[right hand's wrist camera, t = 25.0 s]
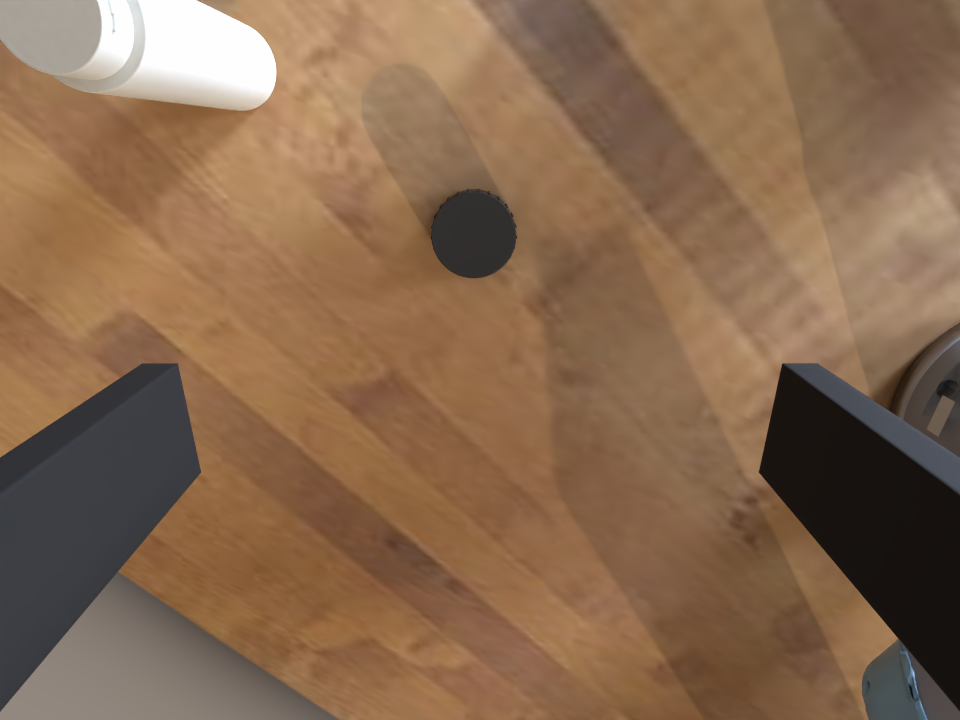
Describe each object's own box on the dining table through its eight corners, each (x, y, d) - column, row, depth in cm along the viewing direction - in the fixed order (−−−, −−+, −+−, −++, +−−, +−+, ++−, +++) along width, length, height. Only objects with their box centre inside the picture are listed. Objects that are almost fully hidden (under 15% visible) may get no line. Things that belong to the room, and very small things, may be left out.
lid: (436, 183, 35) (434, 185, 34) (520, 193, 36) (523, 196, 34) (429, 267, 37) (426, 274, 36) (509, 276, 38) (511, 283, 36)
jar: (291, 59, 33) (140, -6, 18) (251, 127, 34) (81, 118, 20) (219, 1, 32) (-2, -116, 17) (181, 75, 33) (-54, 24, 19)
